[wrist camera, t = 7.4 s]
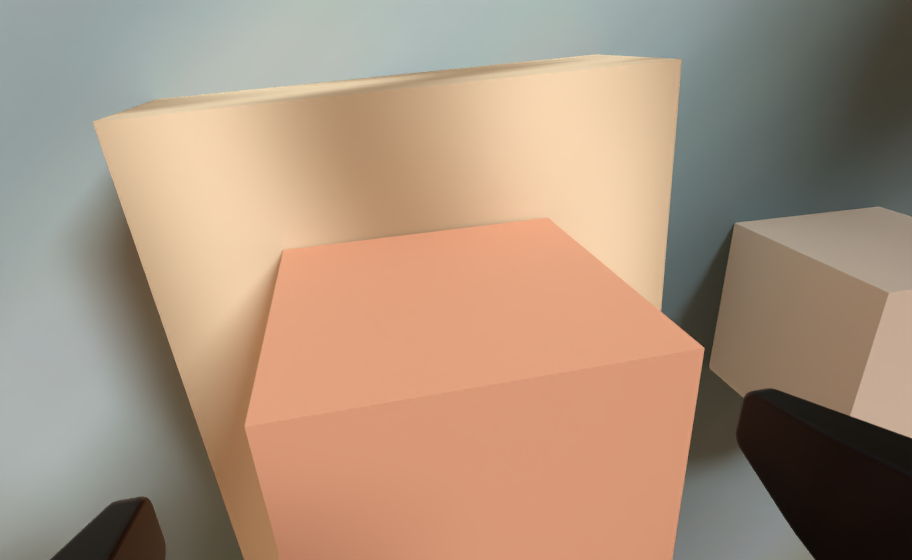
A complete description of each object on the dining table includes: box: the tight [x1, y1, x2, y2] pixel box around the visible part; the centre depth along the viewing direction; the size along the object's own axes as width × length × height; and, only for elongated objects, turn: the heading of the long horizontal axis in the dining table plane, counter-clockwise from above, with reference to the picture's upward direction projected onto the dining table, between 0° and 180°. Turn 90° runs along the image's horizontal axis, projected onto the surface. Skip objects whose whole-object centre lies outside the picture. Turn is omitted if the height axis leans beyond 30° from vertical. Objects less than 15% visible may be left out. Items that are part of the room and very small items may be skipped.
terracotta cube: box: [245, 218, 705, 560], centre depth 9 cm, size 5×5×5 cm
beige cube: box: [709, 207, 912, 438], centre depth 15 cm, size 5×5×5 cm
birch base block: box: [93, 55, 682, 560], centre depth 13 cm, size 10×10×4 cm
